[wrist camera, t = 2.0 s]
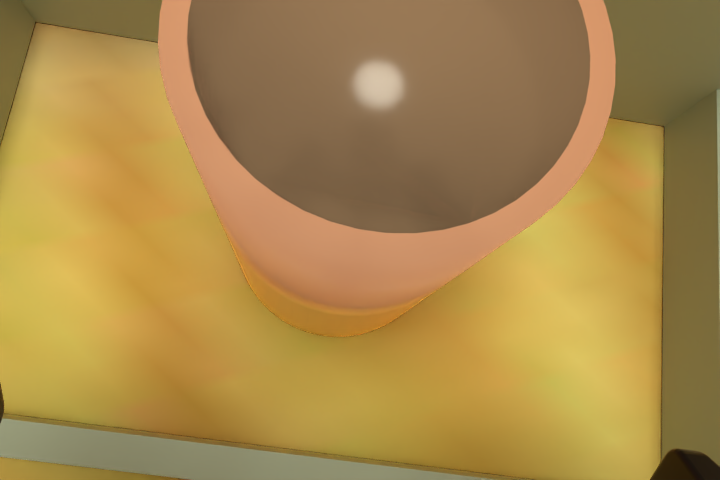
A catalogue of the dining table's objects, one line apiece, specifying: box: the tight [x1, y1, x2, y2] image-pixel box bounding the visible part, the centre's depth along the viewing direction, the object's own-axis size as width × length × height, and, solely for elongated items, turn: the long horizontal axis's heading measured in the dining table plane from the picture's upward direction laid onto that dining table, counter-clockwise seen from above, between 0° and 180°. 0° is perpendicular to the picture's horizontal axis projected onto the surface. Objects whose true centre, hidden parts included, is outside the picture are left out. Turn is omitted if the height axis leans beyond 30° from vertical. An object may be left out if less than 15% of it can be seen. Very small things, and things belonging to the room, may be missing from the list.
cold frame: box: [0, 0, 720, 480], centre depth 16 cm, size 15×25×10 cm, turn 83°
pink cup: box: [158, 0, 616, 337], centre depth 15 cm, size 7×7×12 cm
